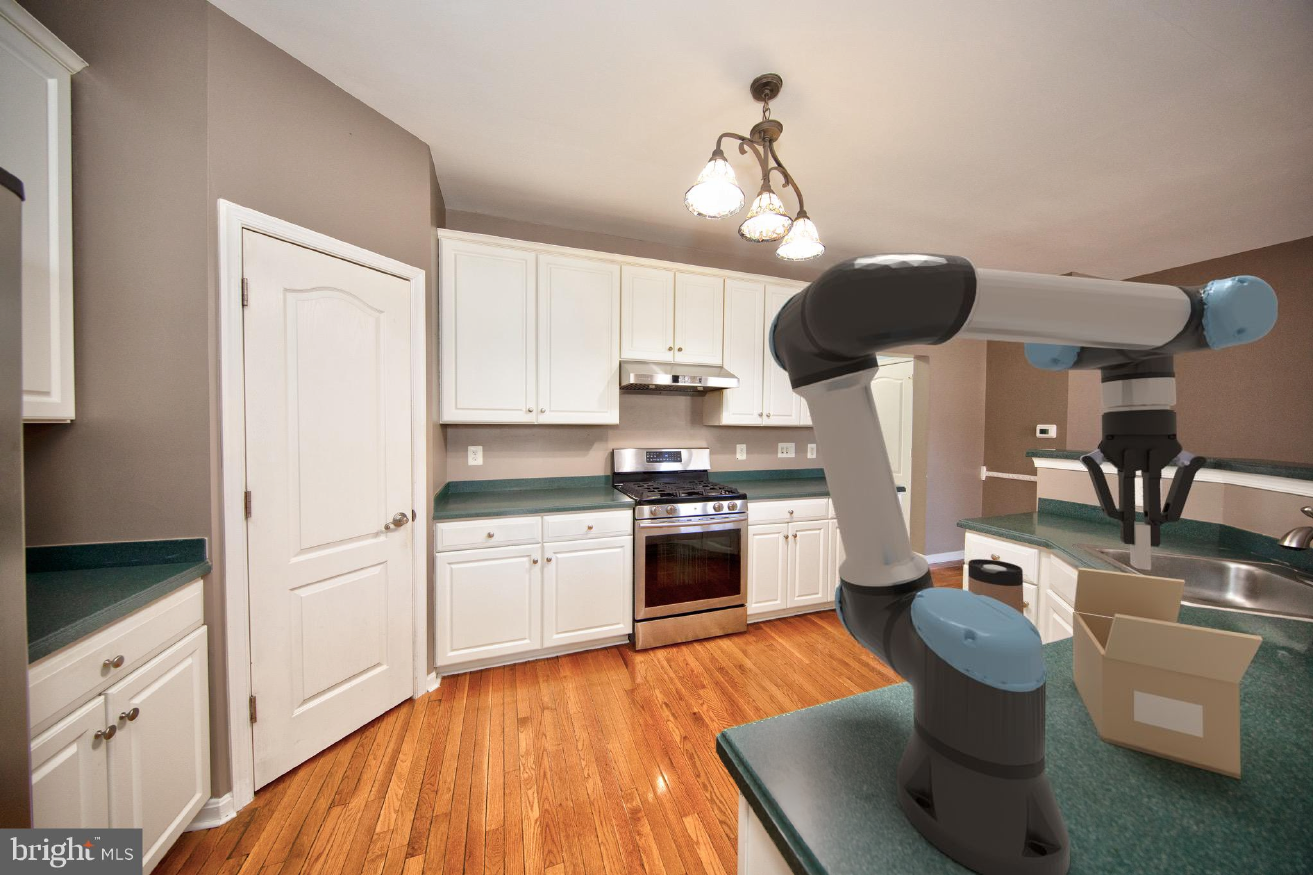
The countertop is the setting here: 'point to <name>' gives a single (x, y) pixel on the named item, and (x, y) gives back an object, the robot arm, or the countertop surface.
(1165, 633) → the near flap
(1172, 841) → the countertop surface
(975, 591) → the travel mug
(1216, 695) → the carton
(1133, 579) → the far flap
